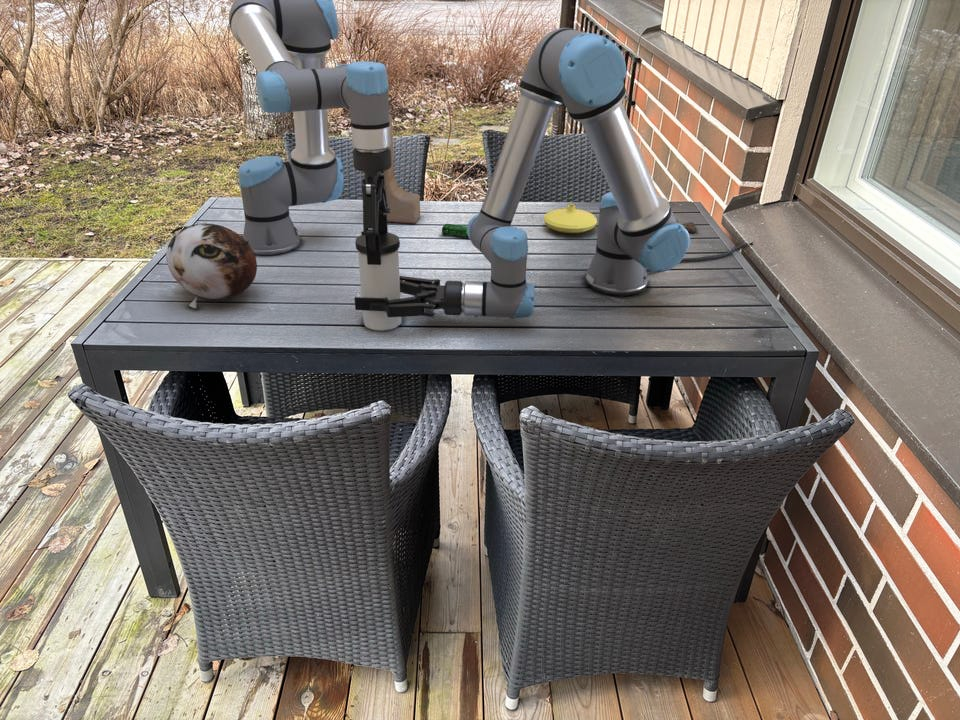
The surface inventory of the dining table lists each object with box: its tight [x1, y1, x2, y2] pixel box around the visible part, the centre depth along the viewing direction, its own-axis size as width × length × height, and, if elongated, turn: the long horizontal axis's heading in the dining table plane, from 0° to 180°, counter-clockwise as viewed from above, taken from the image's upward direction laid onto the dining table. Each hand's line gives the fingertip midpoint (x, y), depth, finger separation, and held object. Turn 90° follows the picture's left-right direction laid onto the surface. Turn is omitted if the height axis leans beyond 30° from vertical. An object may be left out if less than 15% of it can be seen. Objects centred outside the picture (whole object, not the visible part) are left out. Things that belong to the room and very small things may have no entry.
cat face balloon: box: [165, 222, 258, 309], centre depth 165 cm, size 22×18×20 cm
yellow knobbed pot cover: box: [543, 203, 598, 234], centre depth 209 cm, size 16×16×7 cm
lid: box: [354, 232, 401, 255], centre depth 150 cm, size 9×9×2 cm
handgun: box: [441, 223, 469, 238], centre depth 207 cm, size 16×3×15 cm
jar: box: [357, 249, 403, 331], centre depth 155 cm, size 8×8×19 cm
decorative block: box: [363, 113, 421, 224], centre depth 209 cm, size 8×15×30 cm, turn 82°
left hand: (378, 253), depth 151 cm, fingers open, 11 cm apart
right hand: (359, 294), depth 156 cm, fingers closed on jar, 8 cm apart
